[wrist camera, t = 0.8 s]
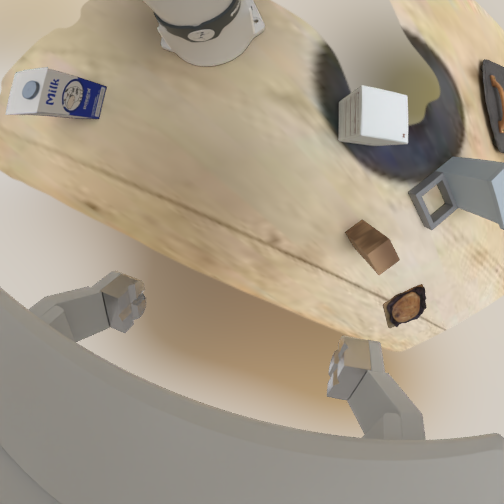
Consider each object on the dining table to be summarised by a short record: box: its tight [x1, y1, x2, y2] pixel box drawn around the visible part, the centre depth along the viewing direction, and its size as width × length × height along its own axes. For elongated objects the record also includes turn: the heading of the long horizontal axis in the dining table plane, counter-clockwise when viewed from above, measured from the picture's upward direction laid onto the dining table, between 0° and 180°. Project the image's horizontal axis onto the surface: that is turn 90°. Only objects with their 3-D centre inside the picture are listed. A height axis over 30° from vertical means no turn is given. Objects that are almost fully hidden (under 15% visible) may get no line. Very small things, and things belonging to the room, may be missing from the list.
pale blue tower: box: [408, 157, 504, 230], centre depth 35 cm, size 14×9×17 cm, turn 128°
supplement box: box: [338, 85, 408, 146], centre depth 35 cm, size 7×7×13 cm
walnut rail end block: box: [345, 220, 400, 275], centre depth 42 cm, size 4×4×12 cm
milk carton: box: [6, 67, 106, 119], centre depth 31 cm, size 7×7×20 cm
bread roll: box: [383, 284, 426, 328], centre depth 51 cm, size 11×8×4 cm
